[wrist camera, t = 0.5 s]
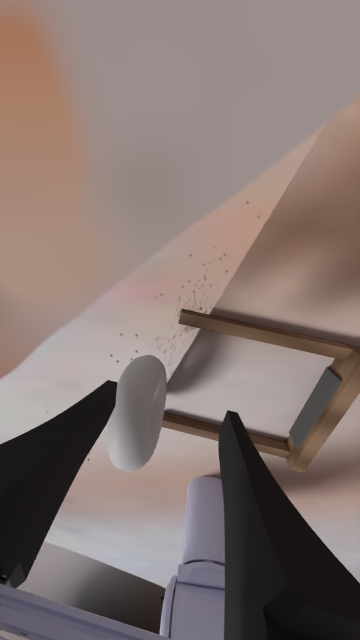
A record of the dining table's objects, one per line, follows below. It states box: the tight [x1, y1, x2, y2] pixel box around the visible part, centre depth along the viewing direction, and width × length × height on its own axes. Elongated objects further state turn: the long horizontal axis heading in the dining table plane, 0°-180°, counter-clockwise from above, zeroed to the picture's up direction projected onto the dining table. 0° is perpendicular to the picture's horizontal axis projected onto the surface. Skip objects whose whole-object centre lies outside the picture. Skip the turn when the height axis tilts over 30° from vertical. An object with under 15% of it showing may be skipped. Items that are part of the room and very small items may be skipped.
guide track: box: [161, 309, 360, 473], centre depth 20 cm, size 16×18×2 cm
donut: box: [106, 355, 167, 472], centre depth 18 cm, size 10×3×10 cm, turn 179°
